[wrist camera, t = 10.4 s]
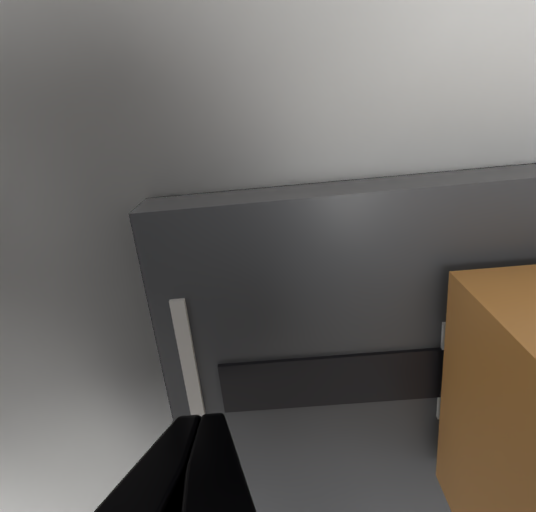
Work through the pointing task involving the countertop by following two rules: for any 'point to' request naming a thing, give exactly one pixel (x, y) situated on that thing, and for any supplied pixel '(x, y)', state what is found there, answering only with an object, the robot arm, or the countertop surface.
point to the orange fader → (489, 391)
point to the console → (325, 322)
